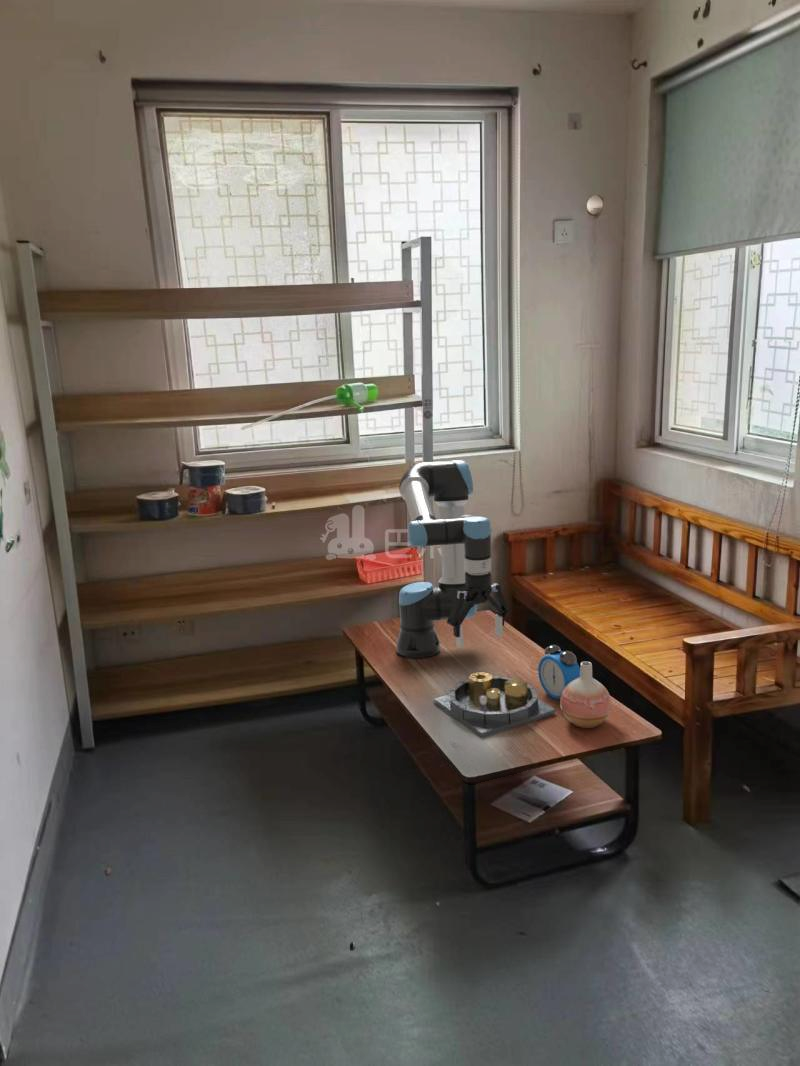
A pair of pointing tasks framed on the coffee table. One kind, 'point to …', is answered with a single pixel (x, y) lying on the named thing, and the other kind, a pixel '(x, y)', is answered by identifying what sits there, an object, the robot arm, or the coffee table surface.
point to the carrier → (495, 706)
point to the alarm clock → (557, 671)
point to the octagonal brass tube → (479, 684)
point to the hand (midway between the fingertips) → (479, 641)
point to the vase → (585, 699)
